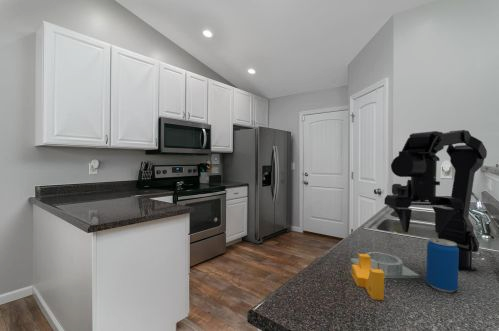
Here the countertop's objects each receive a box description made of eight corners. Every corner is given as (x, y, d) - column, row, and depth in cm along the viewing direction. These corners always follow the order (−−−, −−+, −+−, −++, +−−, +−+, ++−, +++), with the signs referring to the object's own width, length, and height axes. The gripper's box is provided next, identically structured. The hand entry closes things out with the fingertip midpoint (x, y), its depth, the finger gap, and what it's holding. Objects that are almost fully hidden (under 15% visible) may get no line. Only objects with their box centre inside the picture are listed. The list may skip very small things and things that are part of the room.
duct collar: (391, 260, 80) (392, 251, 80) (419, 278, 68) (419, 266, 68) (350, 260, 79) (351, 250, 79) (371, 278, 67) (371, 266, 67)
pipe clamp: (351, 275, 69) (352, 253, 69) (367, 277, 68) (368, 254, 68) (363, 298, 57) (364, 271, 57) (383, 300, 56) (384, 273, 56)
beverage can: (450, 283, 65) (452, 239, 65) (462, 296, 59) (464, 247, 59) (422, 279, 67) (423, 236, 67) (431, 291, 61) (432, 243, 61)
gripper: (433, 176, 75) (431, 225, 76) (374, 174, 75) (373, 224, 75) (466, 178, 64) (464, 236, 64) (397, 176, 64) (395, 235, 64)
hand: (421, 232), depth 67 cm, fingers open, 9 cm apart
